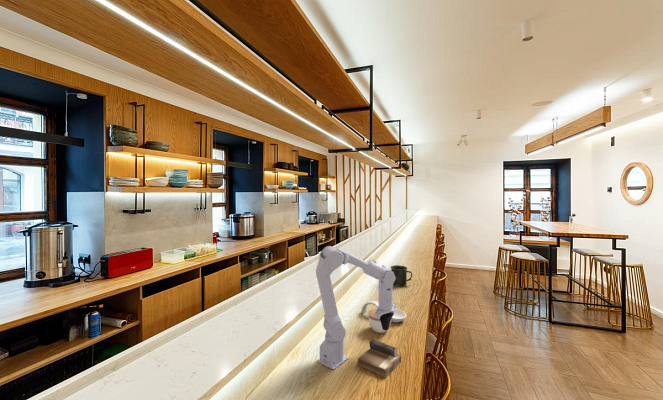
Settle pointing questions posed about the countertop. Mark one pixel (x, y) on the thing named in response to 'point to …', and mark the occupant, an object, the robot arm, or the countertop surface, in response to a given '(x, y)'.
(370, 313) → the lidded jar
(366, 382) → the countertop surface
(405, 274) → the mug
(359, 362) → the stool seat
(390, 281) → the robot arm
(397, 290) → the countertop surface
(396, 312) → the spoon rest
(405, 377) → the countertop surface
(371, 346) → the folding leg
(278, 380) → the countertop surface
